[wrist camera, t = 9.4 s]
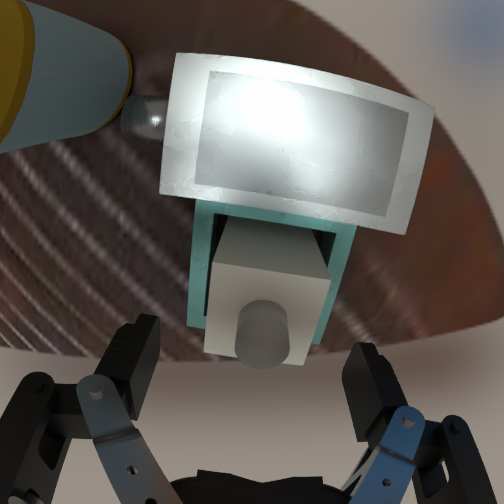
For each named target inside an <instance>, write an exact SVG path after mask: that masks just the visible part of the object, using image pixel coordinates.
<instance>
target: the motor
mask: <svg viewBox="0 0 504 504" xmlns="http://www.w3.org/2000/svg"><path fill="white" fill-rule="evenodd" d="M434 111H435V107H434V106H431V105H429V104H426V103H424V102H421V101H419V100H416V99H413V98H411V97H408V96H405V95H402V94H400V93H397V92H394V91H391V90H388V89H385V88H382V87H378V86H375V85H372V84H369V83H365V82H362V81H358V80H355V79H351V78H348V77H344V76H340V75H336V74H332V73H328V72H323V71H319V70H315V69H310V68H305V67H300V66H295V65H289V64H284V63H278V62H272V61H265V60H258V59H251V58H243V57H233V56H223V55H211V54H194V53H176V58H175V64H174V70H173V76H172V83H171V89H170V96H151V95H131V96H130V97H128V99H127V100H126V102H125V104H124V106H123V109H122V113H121V120H120V129H121V134H122V137H123V139H124V140H125V141H127V142H141V143H154V144H164V145H163V155H162V166H161V178H160V191H159V194H164V195H172V196H180V197H187V198H195V199H196V205H195V215H194V226H193V237H192V249H191V262H190V277H189V292H188V310H187V326H191V327H196V328H202V329H206V319H207V309H208V299H209V289H210V280H211V270H212V262H213V259H214V256H215V247H216V239H217V230H218V222H219V214H225V215H231V216H238V217H244V218H251V219H257V220H263V221H269V222H275V223H282V224H288V225H294V226H299V227H305V228H311V229H317V230H323V233H322V237H321V241H320V245H319V249H320V252H321V255H322V257H323V260H324V262H325V265H326V267H327V270H328V273H329V275H330V278H331V283H330V286H329V290H328V293H327V296H326V299H325V302H324V306H323V309H322V312H321V315H320V318H319V321H318V324H317V327H316V330H315V333H314V336H313V339H312V342H311V344H320V341H321V338H322V336H323V333H324V330H325V327H326V324H327V321H328V318H329V316H330V313H331V310H332V307H333V304H334V301H335V298H336V295H337V291H338V288H339V285H340V282H341V279H342V276H343V272H344V269H345V266H346V262H347V259H348V256H349V252H350V249H351V245H352V242H353V238H354V235H355V231H356V227H357V226H362V227H367V228H372V229H377V230H382V231H387V232H392V233H397V234H402V235H405V233H406V230H407V226H408V223H409V220H410V216H411V213H412V209H413V206H414V202H415V199H416V195H417V191H418V187H419V183H420V179H421V175H422V171H423V167H424V162H425V158H426V153H427V149H428V144H429V139H430V134H431V129H432V123H433V117H434Z"/></svg>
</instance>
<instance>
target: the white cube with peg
mask: <svg viewBox="0 0 504 504" xmlns="http://www.w3.org/2000/svg"><path fill="white" fill-rule="evenodd" d="M330 283H331V278H330V275H329V273H328V270H327V267H326V265H325V262H324V260H323V257H322V255H321V252H320V249H319V247H318V244H317V242H316V239H315V237H314V234H313V232H312V230H311V228H305V227H299V226H294V225H288V224H282V223H275V222H269V221H263V220H257V219H251V218H244V217H238V216H231V215H229V216H228V219H227V222H226V225H225V228H224V230H223V233H222V236H221V239H220V242H219V245H218V247H217V250H216V253H215V256H214V259H213V262H212V270H211V280H210V289H209V299H208V309H207V319H206V330H205V341H204V352H206V353H212V354H218V355H224V356H230V357H237V358H238V359H239V360H240V361H241V362H242V363H244V364H245V365H247V366H249V367H252V368H257V369H268V368H272V367H275V366H277V365H279V364H281V363H284V364H293V365H303V364H304V361H305V359H306V356H307V353H308V350H309V347H310V345H311V342H312V339H313V336H314V333H315V330H316V327H317V324H318V321H319V318H320V315H321V312H322V309H323V306H324V302H325V299H326V296H327V293H328V290H329V286H330Z"/></svg>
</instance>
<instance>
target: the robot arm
mask: <svg viewBox="0 0 504 504" xmlns="http://www.w3.org/2000/svg"><path fill="white" fill-rule="evenodd" d="M159 353H160V319H159V317H158V316H153V315H148V314H143V313H141V314H140V315H139V317H138V319H137V321H136V323H135V324H129V323H126V324H125V325H123V326H122V327H121V328H119V329H118V330H117V332H116V333H115V335H114V337H113V340H112V341H111V342H110V344H109V347H108V348H107V350H106V351H105V353H104V355H103V357H102V359H101V361H100V362H99V364H98V366H97V368H96V370H95V372H94V374H93V375H89V376H86V377H84V378H83V379H81V380H80V381H79V383H78V384H56V383H54V380H53V379H52V377H51V376H50V375H48V374H46V373H44V372H32V373H30V374H28V375H26V376H25V377H24V378H23V379H22V381H21V382H20V384H19V386H18V387H17V389H16V391H15V393H14V394H13V396H12V398H11V400H10V402H9V403H8V405H7V407H6V409H5V411H4V413H3V415H2V416H1V418H0V504H51V502H52V499H53V495H54V492H55V488H56V485H57V482H58V479H59V475H60V472H61V469H62V466H63V463H64V460H65V457H66V454H67V451H68V448H69V445H70V442H71V439H72V438H77V439H93V443H94V446H95V448H96V451H97V453H98V456H99V458H100V460H101V463H102V465H103V467H104V469H105V472H106V474H107V476H108V478H109V480H110V482H111V485H112V487H113V489H114V491H115V493H116V494H117V497H118V499H119V500H120V502H121V504H400V503H401V500H402V498H403V496H404V494H405V492H406V489H407V487H408V485H409V482H410V480H411V477H412V481H413V485H414V489H415V494H416V498H417V503H418V504H497V501H496V498H495V495H494V492H493V489H492V486H491V483H490V480H489V478H488V475H487V472H486V469H485V466H484V464H483V461H482V459H481V456H480V453H479V451H478V448H477V446H476V444H475V441H474V439H473V436H472V434H471V431H470V429H469V427H468V425H467V423H466V422H465V421H464V420H463V419H462V418H461V417H459V416H456V415H449V416H446V417H445V418H444V419H443V421H442V422H441V423H440V422H434V421H429V420H425V418H424V416H423V414H422V413H421V412H420V411H419V410H417V409H416V408H414V407H411V406H409V405H408V403H407V401H406V398H405V396H404V394H403V391H402V389H401V386H400V384H399V382H398V381H397V377H396V375H395V374H394V371H393V368H392V366H391V364H390V363H389V362H388V361H387V359H386V358H385V357H384V356H383V355H379V354H378V352H377V349H376V347H375V345H374V344H373V343H363V342H356V343H355V344H354V346H353V348H352V350H351V352H350V354H349V357H348V359H347V361H346V363H345V366H344V368H343V371H342V383H343V387H344V391H345V394H346V398H347V402H348V406H349V409H350V413H351V418H352V422H353V426H354V429H355V434H356V438H357V442H367V441H368V445H369V446H368V447H367V449H366V450H365V452H364V453H363V455H362V457H361V459H360V460H359V462H358V464H357V465H356V467H355V469H354V470H353V472H352V473H351V475H350V477H349V478H348V480H347V481H346V483H345V484H344V485H343V486H342V487H341V489H337V488H335V487H332V486H329V485H326V484H323V479H322V476H320V477H290V478H286V479H281V480H276V481H270V482H264V483H261V482H256V481H252V480H249V479H246V478H242V477H239V476H236V475H232V474H229V473H220V472H213V471H205V470H199V469H198V471H197V476H196V477H187V478H181V479H178V480H175V481H172V482H169V481H168V480H167V478H166V476H165V475H164V473H163V472H162V470H161V468H160V467H159V465H158V463H157V462H156V460H155V458H154V456H153V455H152V453H151V451H150V449H149V448H148V446H147V444H146V442H145V440H144V438H143V437H142V435H141V433H140V432H139V430H138V429H137V428H135V427H134V425H133V423H132V421H131V420H135V421H137V419H138V417H139V413H140V410H141V407H142V405H143V401H144V399H145V395H146V392H147V390H148V387H149V384H150V381H151V378H152V375H153V372H154V369H155V366H156V364H157V361H158V358H159ZM443 461H445V464H446V467H447V470H448V474H449V481H448V483H447V480H446V476H445V473H444V470H443V466H442V462H443Z"/></svg>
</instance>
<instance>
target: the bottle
mask: <svg viewBox="0 0 504 504" xmlns="http://www.w3.org/2000/svg"><path fill="white" fill-rule="evenodd" d="M131 81H132V63H131V58H130V55H129V52H128V51H127V49H126V47H125V46H124V44H123V43H122V42H121V41H120V40H119V39H117V38H116V37H114V36H113V35H111V34H109V33H108V32H105V31H103V30H101V29H99V28H96V27H94V26H92V25H89V24H87V23H85V22H82V21H80V20H77V19H75V18H72V17H70V16H67V15H65V14H62V13H59V12H57V11H54V10H51V9H48V8H45V7H43V6H40V5H37V4H34V3H31V2H28V1H24V0H0V154H2V153H5V152H9V151H13V150H17V149H21V148H25V147H29V146H33V145H37V144H42V143H46V142H51V141H56V140H61V139H66V138H72V137H77V136H82V135H86V134H90V133H92V132H95V131H97V130H100V129H101V128H103V127H104V126H105V125H106V124H108V123H109V122H110V121H111V120H112V119H113V118H114V117H115V116H116V115H117V113H118V112H119V110H120V109H121V108H122V106H123V105H124V103H125V101H126V98H127V95H128V93H129V90H130V87H131Z"/></svg>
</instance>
